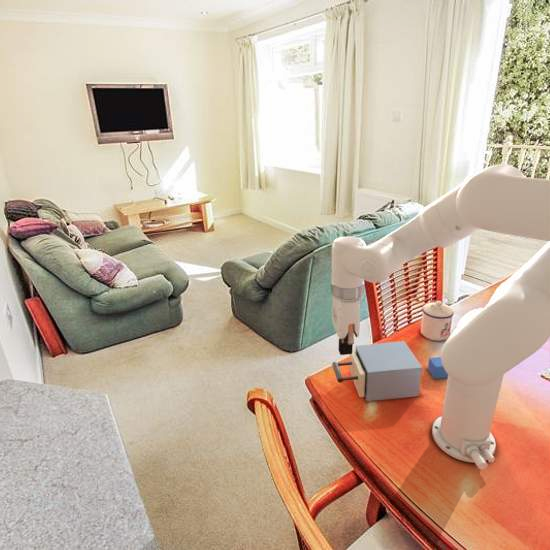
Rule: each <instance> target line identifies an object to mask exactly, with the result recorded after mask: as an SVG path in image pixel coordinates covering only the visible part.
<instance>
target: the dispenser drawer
mask: <svg viewBox="0 0 550 550" xmlns="http://www.w3.org/2000/svg"><path fill="white" fill-rule="evenodd" d="M331 366H332V369H333V371H334V374H335V377H336V381H337V382H338V383H339V384H341V383H343V381H352V382H353V384H354V387H355V389H356V392H357V394H358V397H359V398H365V396H364V389H365V387H366V388H367V372H366V369H365V367H364V365H363V363H362V361H361V359H360V357H359V359H358V357H357V355H356V353H355V349H352V354H349V361H346V362H337V361H333V362H332V363H331ZM342 366H344V367H345V366H349V374H350V376H345V377H343V376H342V372H341V370H340V367H342Z"/></svg>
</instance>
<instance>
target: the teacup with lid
mask: <svg viewBox="0 0 550 550" xmlns="http://www.w3.org/2000/svg"><path fill="white" fill-rule="evenodd" d="M421 309H422V316H421V325H420V333H421V335H422V336H423V337H425V338H426V339H428V340H431V341H437V342H439V341H446V340H447V339H448V338H449V336H450V335H451V330H452V329H451V328H452V321H453V316H454V314H455V313H454V309H453V308H452V307H451V306H450V305H448V304H446V303H443V301H442V300H436V301H434V302H428V303H426V304H424V305H423V306H422V308H421Z"/></svg>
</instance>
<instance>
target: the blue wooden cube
mask: <svg viewBox="0 0 550 550" xmlns="http://www.w3.org/2000/svg"><path fill="white" fill-rule="evenodd" d="M427 371H428V372H429V373H430V375H431V377H432V378H433V379H435V380H436V379H448V374H447V372H446V371H445V369H444V367H443V365H442V361H441V356H438V357H437V356H435V357H429V358H428V365H427Z"/></svg>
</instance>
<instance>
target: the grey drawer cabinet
mask: <svg viewBox="0 0 550 550" xmlns="http://www.w3.org/2000/svg"><path fill="white" fill-rule="evenodd" d="M354 351H355V353H356V355H357V357H358V359H359V357H360V359H361V361H362V363H363V365H364V367H365V369H366V372H367V388H366V387H365V389H364V398H365V400H366V402H372V401H382V400H383V401H385V400H393V399H403V398H405V399H406V398H412V397H413V398H414V397H420V391H421V382H422V375H423V374H422V373H423V366H422V364H421V363H420V362H419V360H418V359H417V357H416V356H415V354H414V353H413V352H412V350H411V348H410V347H409V346H408V345H407V343H406V342H405V341H404V340H402V341H401V340H399V341H389V342H380V343H371V344H370V343H368V344H359V345H355V349H354Z"/></svg>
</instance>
